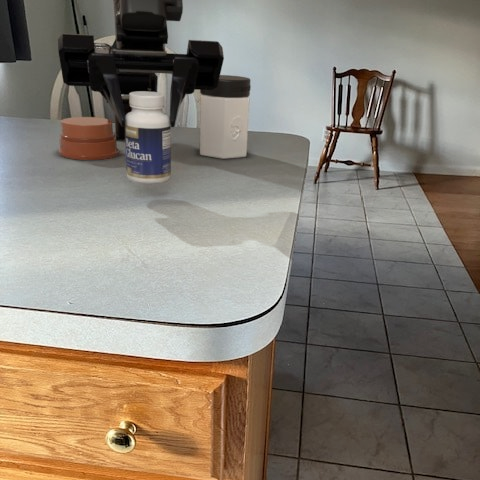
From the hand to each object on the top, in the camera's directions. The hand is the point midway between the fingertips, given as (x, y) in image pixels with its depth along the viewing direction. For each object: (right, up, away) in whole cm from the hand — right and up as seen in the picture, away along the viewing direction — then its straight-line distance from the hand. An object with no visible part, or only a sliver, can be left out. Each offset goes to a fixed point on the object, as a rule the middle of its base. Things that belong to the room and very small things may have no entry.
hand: (148, 124), depth 62 cm
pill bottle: (-1, -5, +4) cm, 7 cm away
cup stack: (-14, +5, +25) cm, 29 cm away
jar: (+8, +6, +31) cm, 32 cm away
